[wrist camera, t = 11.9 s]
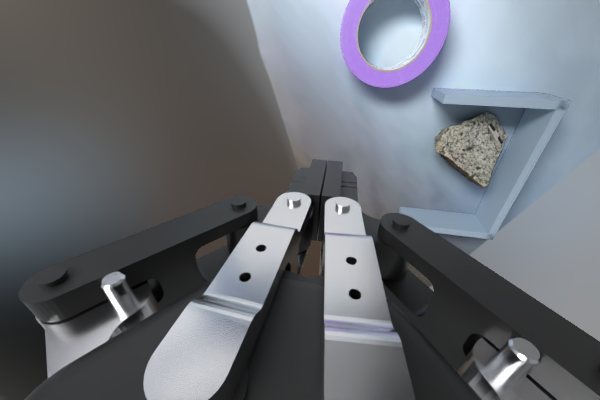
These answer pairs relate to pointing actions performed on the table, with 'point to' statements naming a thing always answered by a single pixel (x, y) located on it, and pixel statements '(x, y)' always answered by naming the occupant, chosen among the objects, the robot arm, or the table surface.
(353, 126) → the table surface
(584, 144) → the table surface
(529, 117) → the box
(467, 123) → the rock sample
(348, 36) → the masking tape
